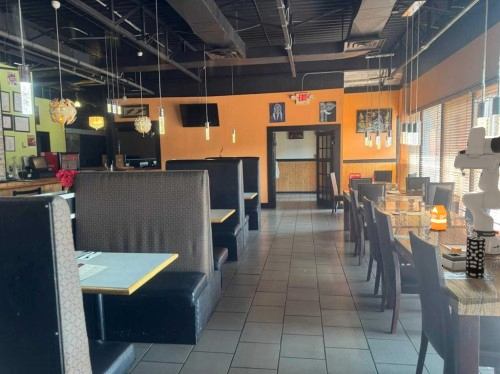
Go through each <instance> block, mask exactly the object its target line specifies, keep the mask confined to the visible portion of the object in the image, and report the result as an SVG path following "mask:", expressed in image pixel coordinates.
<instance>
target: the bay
mask: <svg viewBox="0 0 500 374" xmlns="http://www.w3.org/2000/svg"><path fill="white" fill-rule="evenodd" d="M440 256H441V259H442V264H443V266H442V267H444V268H446V269H447V270H451V271H454V272H455V271H466V253H464V254H463V253H461V254H459V253H451V252H444V253H442V252H441V255H440Z"/></svg>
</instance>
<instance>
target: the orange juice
mask: <svg viewBox="0 0 500 374" xmlns="http://www.w3.org/2000/svg"><path fill="white" fill-rule="evenodd" d="M430 221H431V222H430V223H431V224H430V228H431V229H433V230H437V231H439V230H447V210H446V209H445V206H444V205H443V204H442V205H434V206H433V209H432V210H431V219H430Z"/></svg>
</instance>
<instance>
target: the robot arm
mask: <svg viewBox="0 0 500 374" xmlns="http://www.w3.org/2000/svg"><path fill="white" fill-rule="evenodd" d="M466 141H467V144H466V148H464V149H461V150H458V151H457V155H456V157H455V159H454V163H453V167H454V168H455V169H457V170H460V172H461V176H462V177H465V176H466V172H464V170H481V172H480V175H479V179H478V184H477V186H478V188H479V190H480V191H467V192H465V193H464V194H463V195H462V198H461V202H462V204H463V206H464V207H465V208H467V209H468V210H469V211H470V213H471V215H472V218H473V229H472V237H480V238H484V239H485V254H489V255H499V254H500V238H499V237H498V236H497V235H499V234H500V231H498V230H494V223H495V221H494V218H493V217H492V216H491V215H489V214H488V213H486V212H485V211H484V210H497V211H499V210H500V189H499V180H500V135H495V136H494V135H493V136H488V135H487V133H486V127H484V126H473V127H471V128H470V129H469V133H468V137H467V140H466Z"/></svg>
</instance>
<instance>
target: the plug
mask: <svg viewBox="0 0 500 374" xmlns="http://www.w3.org/2000/svg"><path fill="white" fill-rule="evenodd" d="M462 251H463V249H462V248H461V247H458V246H452V247H450V253H459V254H462Z"/></svg>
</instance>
